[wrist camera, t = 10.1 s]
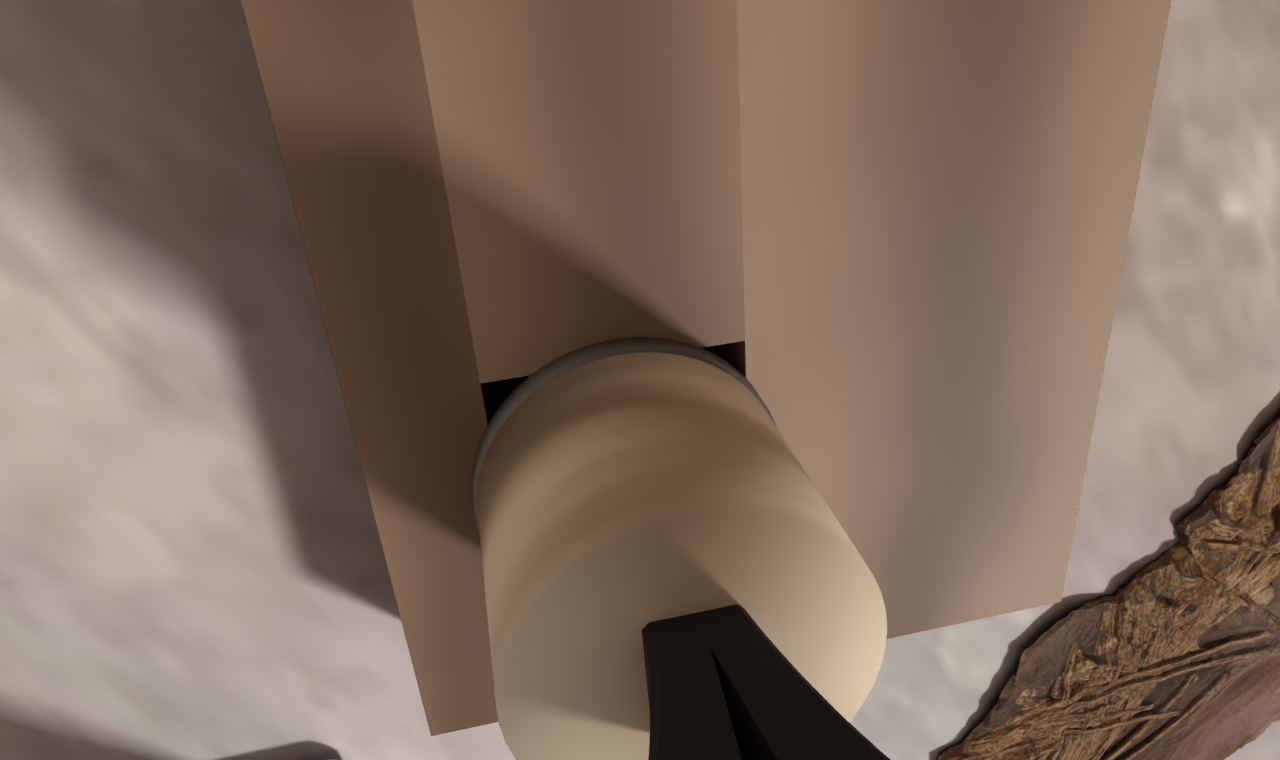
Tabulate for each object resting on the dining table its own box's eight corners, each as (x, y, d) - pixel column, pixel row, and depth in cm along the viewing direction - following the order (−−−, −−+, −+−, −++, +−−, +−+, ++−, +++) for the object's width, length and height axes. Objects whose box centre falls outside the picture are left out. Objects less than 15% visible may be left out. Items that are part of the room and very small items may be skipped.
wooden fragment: (1434, 215, 23) (1477, 229, 22) (1600, 415, 27) (1641, 434, 26) (764, 884, 30) (775, 916, 29) (987, 953, 34) (1002, 983, 33)
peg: (494, 546, 20) (530, 856, 14) (438, 312, 18) (451, 562, 11) (743, 491, 21) (887, 762, 15) (726, 258, 18) (894, 465, 12)
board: (429, 633, 22) (431, 736, 19) (196, -330, 13) (142, -381, 11) (991, 522, 24) (1060, 601, 21) (1108, -379, 15) (1249, -430, 13)
